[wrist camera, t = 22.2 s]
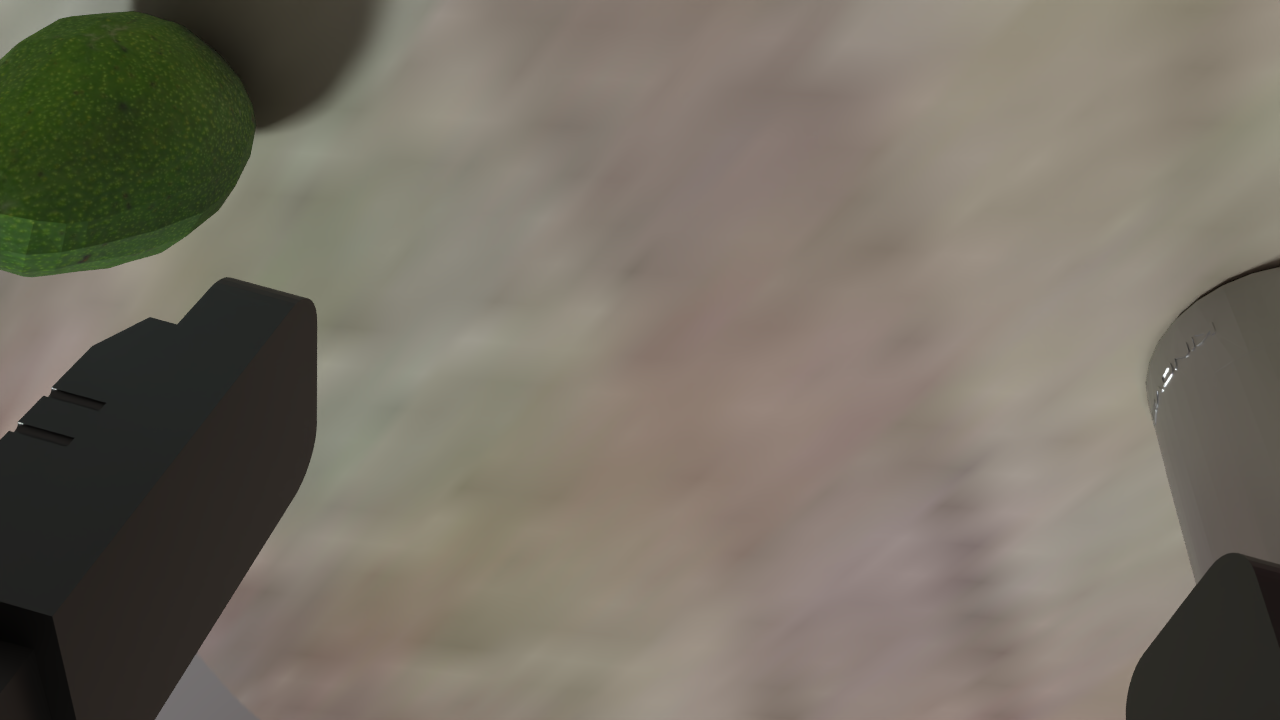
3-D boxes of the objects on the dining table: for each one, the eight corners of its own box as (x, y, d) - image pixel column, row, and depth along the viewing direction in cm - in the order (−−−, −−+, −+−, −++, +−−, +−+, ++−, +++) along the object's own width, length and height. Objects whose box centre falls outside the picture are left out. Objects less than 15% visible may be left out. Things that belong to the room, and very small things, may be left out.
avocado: (108, -71, 38) (-152, 64, 29) (317, 47, 40) (132, 213, 30) (73, 112, 43) (-161, 279, 34) (260, 212, 44) (85, 401, 35)
